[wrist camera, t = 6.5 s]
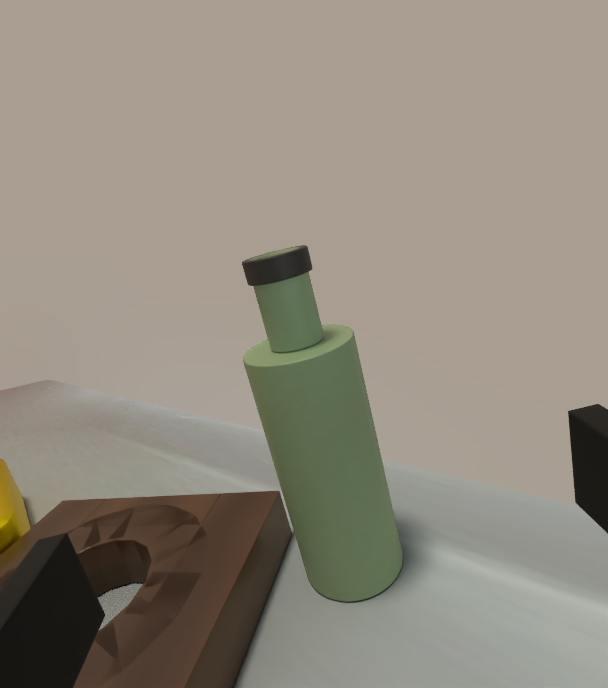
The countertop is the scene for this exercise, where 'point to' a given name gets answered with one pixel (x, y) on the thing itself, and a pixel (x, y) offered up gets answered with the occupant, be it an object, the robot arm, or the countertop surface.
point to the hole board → (171, 581)
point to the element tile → (11, 510)
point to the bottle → (321, 434)
